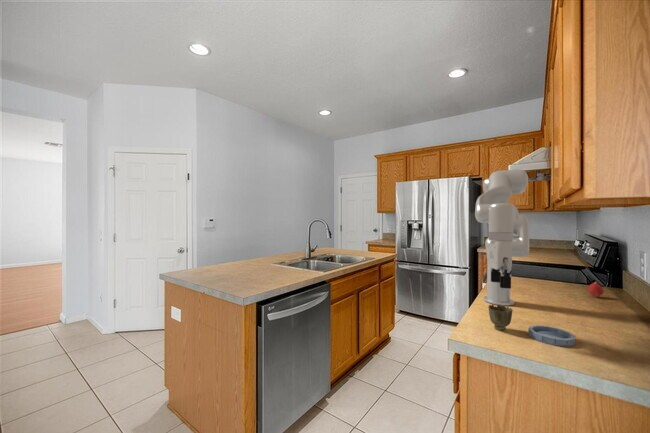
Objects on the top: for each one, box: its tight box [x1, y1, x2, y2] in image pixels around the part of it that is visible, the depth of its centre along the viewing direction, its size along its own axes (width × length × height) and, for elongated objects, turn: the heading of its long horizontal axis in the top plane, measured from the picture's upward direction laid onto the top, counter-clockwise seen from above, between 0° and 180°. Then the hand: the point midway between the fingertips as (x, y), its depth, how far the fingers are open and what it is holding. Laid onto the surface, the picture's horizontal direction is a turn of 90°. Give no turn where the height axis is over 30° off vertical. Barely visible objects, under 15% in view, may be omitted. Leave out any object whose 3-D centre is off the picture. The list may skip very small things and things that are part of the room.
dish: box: [528, 324, 576, 348], centre depth 95 cm, size 12×12×2 cm
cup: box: [488, 304, 513, 332], centre depth 102 cm, size 8×7×8 cm
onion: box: [587, 281, 605, 298], centre depth 144 cm, size 6×6×8 cm
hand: (500, 284), depth 102 cm, fingers open, 9 cm apart
